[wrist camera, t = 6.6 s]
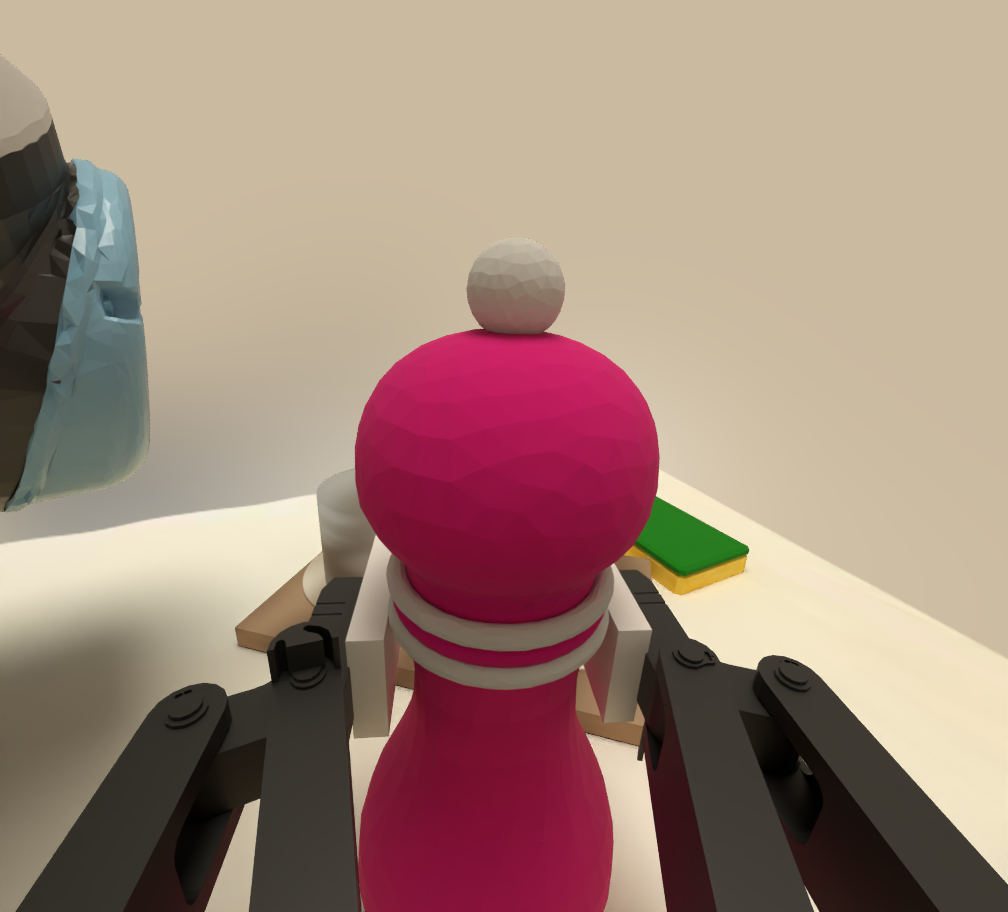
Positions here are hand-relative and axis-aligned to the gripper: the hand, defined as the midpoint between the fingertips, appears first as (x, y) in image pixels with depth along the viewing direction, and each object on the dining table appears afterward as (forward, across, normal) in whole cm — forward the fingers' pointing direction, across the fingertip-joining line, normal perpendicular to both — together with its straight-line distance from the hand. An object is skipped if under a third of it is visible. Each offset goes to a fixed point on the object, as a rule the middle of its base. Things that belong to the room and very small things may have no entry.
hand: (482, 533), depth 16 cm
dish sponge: (+18, +15, -12) cm, 26 cm away
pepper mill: (-5, 0, -11) cm, 12 cm away
